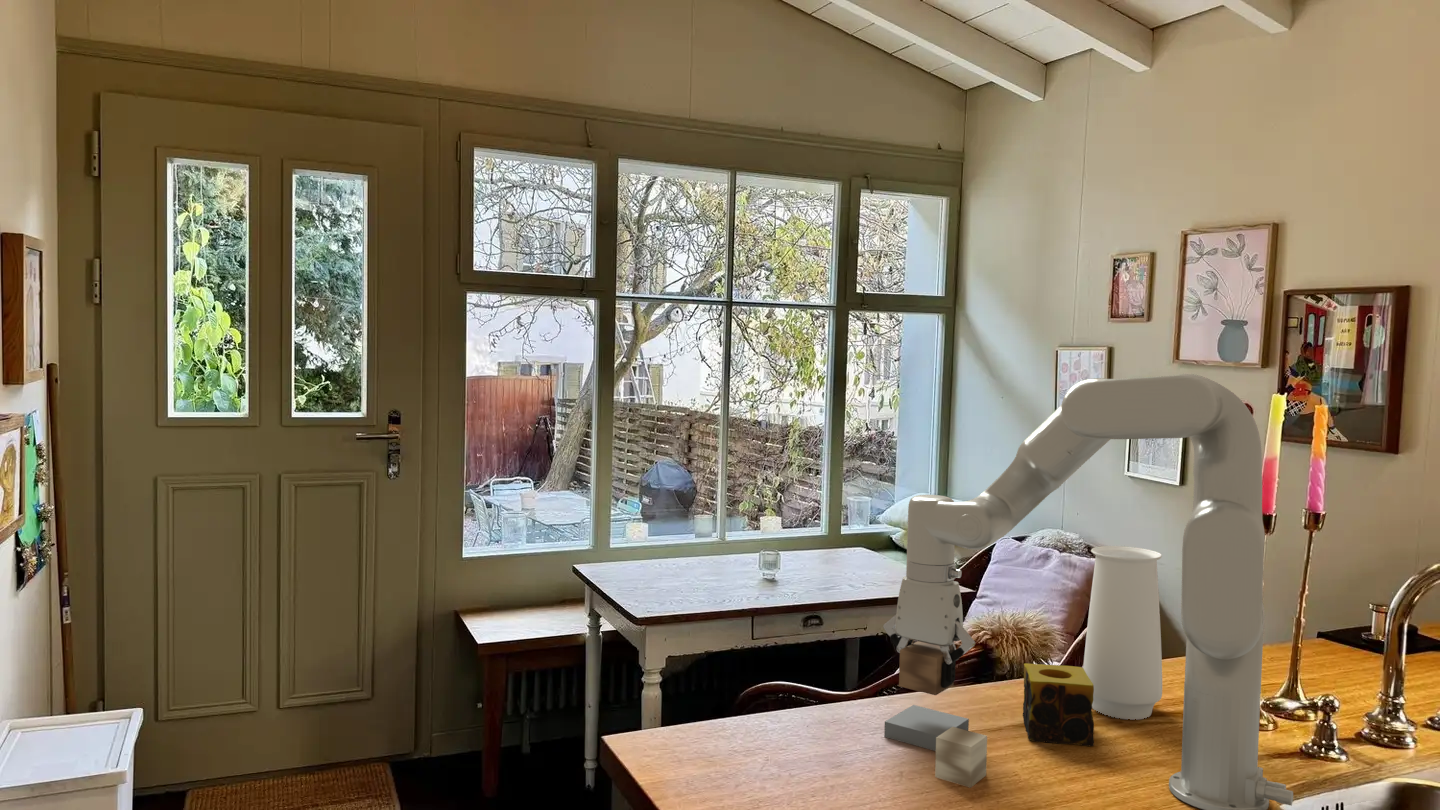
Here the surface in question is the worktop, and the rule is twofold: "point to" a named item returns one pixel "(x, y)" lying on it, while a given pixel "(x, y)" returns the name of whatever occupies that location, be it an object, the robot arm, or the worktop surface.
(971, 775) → the maple block
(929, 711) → the slate slab
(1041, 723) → the yellow holed cube
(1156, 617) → the vase
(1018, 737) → the worktop surface
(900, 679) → the walnut block
